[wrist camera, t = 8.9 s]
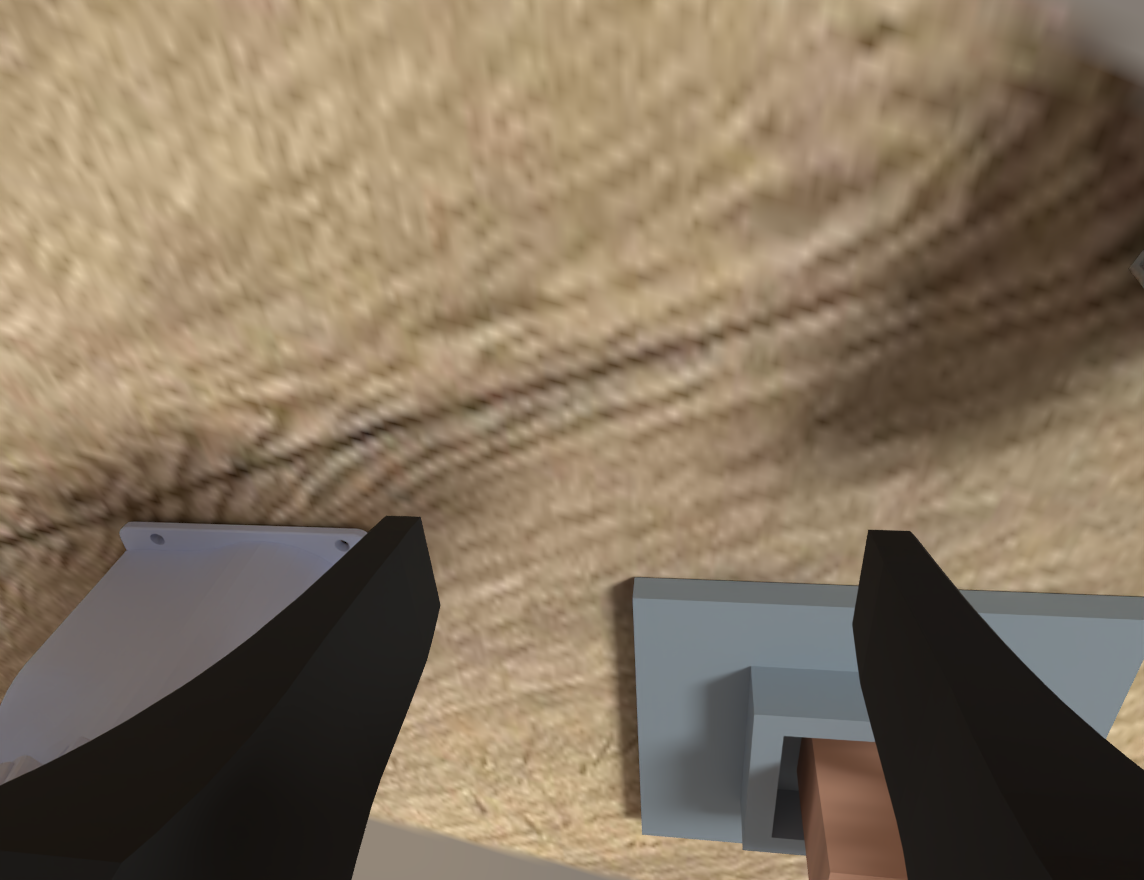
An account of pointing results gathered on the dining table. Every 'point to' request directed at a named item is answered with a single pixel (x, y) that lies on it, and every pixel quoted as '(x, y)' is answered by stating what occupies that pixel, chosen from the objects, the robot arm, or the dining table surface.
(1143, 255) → the food container
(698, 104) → the dining table surface
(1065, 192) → the dining table surface
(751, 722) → the base board
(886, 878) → the terracotta block
